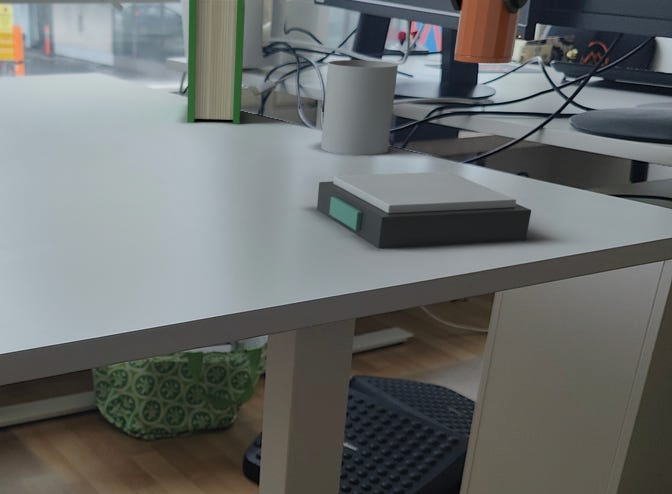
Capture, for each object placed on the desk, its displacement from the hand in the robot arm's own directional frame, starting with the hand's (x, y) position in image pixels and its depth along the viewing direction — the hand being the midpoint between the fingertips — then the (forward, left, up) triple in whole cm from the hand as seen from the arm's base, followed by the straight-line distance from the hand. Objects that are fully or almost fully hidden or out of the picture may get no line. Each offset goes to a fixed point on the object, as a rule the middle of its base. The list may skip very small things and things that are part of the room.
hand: (481, 5), depth 100 cm
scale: (+15, +21, -17) cm, 31 cm away
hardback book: (+15, -47, -17) cm, 52 cm away
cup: (+5, -16, -17) cm, 24 cm away
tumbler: (-2, -1, -5) cm, 6 cm away
